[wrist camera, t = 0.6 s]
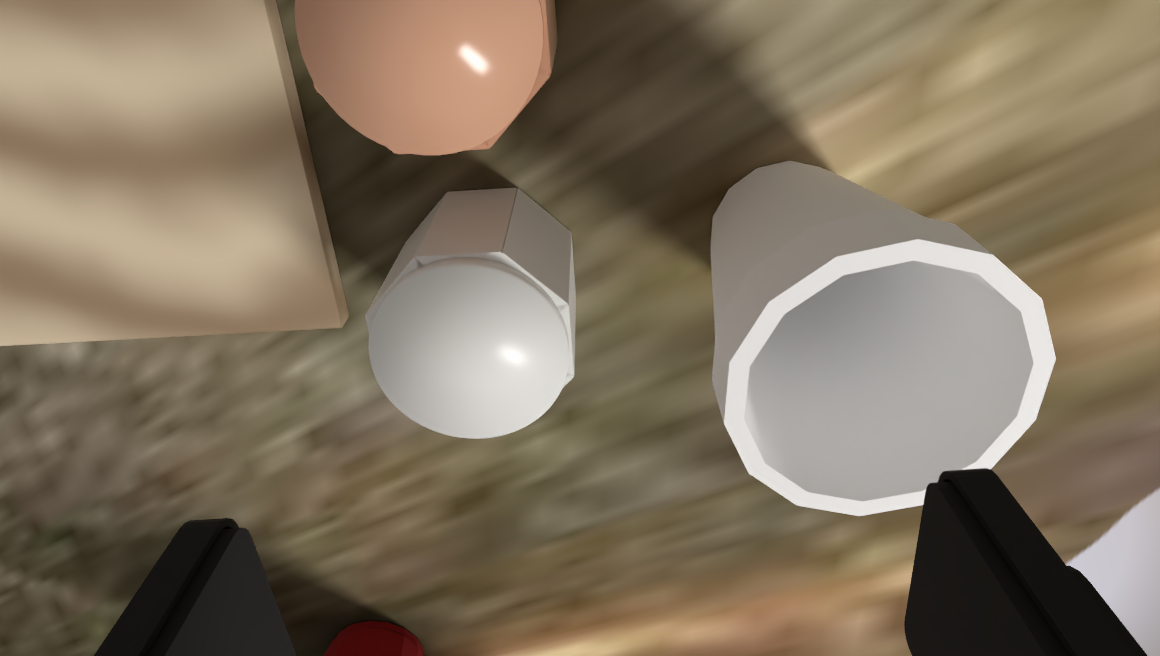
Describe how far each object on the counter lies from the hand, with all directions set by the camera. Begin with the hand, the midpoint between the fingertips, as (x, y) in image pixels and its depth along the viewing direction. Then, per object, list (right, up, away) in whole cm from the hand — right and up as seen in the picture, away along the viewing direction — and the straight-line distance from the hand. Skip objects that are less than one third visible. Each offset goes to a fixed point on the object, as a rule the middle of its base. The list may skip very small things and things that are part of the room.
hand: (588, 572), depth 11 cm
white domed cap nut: (-4, +6, +24) cm, 25 cm away
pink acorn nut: (-5, +16, +18) cm, 25 cm away
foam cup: (+9, +8, +23) cm, 26 cm away
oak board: (-20, +12, +21) cm, 31 cm away
